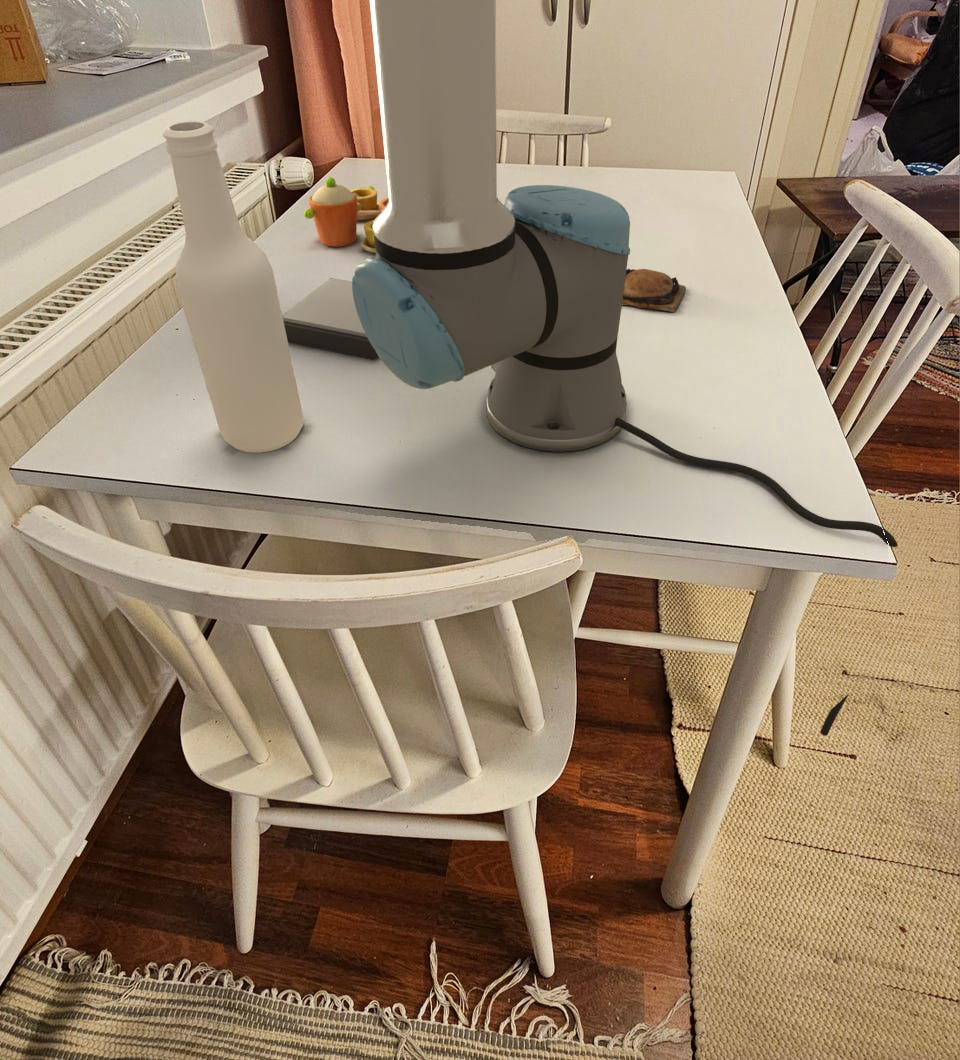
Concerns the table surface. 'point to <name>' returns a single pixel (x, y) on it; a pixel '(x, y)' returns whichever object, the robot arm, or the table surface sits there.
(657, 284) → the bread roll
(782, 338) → the table surface
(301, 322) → the scale
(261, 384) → the white bottle
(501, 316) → the robot arm
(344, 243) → the toy tea set
